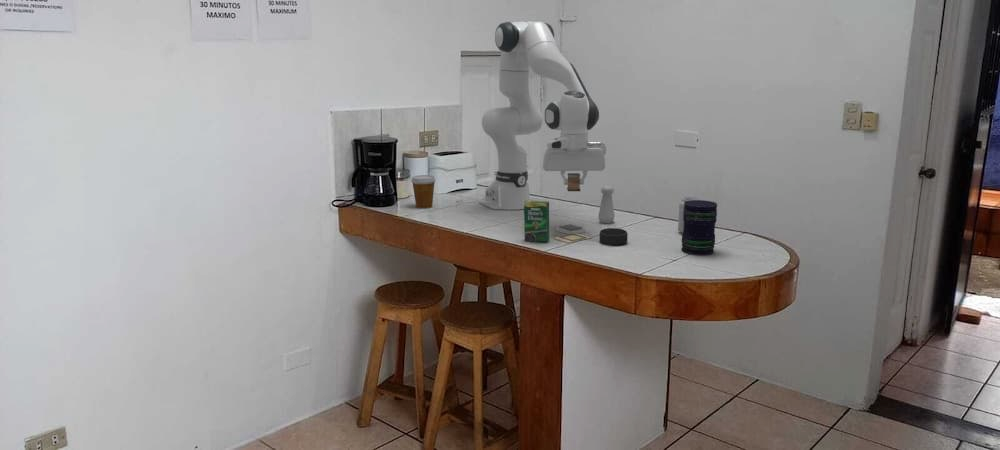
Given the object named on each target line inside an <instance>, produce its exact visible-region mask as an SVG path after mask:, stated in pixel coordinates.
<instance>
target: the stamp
mask: <svg viewBox="0 0 1000 450" xmlns="http://www.w3.org/2000/svg"><path fill="white" fill-rule="evenodd" d="M567 179H569V181H568V185H567V188H566V190H567V192H581V188H580V187H581V184H580V179H581V174H580V173H579V172H578V173H577V172H571V173H570V172H569V173H567Z"/></svg>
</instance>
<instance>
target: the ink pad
mask: <svg viewBox="0 0 1000 450" xmlns="http://www.w3.org/2000/svg"><path fill="white" fill-rule="evenodd" d="M556 232H559V233H560V232H561V233H563V234H565V235H569V234H575V233H578V234H584V233H586V228H585V227H582V226H578V225H574V224H571V223H569V224H564V225H560V226H556Z"/></svg>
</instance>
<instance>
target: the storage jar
mask: <svg viewBox="0 0 1000 450" xmlns="http://www.w3.org/2000/svg"><path fill="white" fill-rule="evenodd" d="M717 207H718V203H717V202H714V201H711V200H702V199H701V200H690V201H685V202H684V211H683V221H684V228H683V233H682V234H681V252H683V253H684V254H687V255H692V256H710V255H713V254H714V253H715V250H714V249H715V244H716V234H715V231H716V230H715V229H716V223H717V216H718V212H717V211H718V209H717Z"/></svg>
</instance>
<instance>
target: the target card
mask: <svg viewBox="0 0 1000 450" xmlns="http://www.w3.org/2000/svg"><path fill="white" fill-rule="evenodd" d="M553 239H554V240H557V241H561V242H563V241H564V242H563V243H566V242H567V244H572V243H576V242H581V241H585V240H589V239H590V240H591V239H592V237H591V236H587V235H584V234H582V233H579V234H578V233H575V234H565V235H560V236H558V237H557V236H556V237H553Z"/></svg>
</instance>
